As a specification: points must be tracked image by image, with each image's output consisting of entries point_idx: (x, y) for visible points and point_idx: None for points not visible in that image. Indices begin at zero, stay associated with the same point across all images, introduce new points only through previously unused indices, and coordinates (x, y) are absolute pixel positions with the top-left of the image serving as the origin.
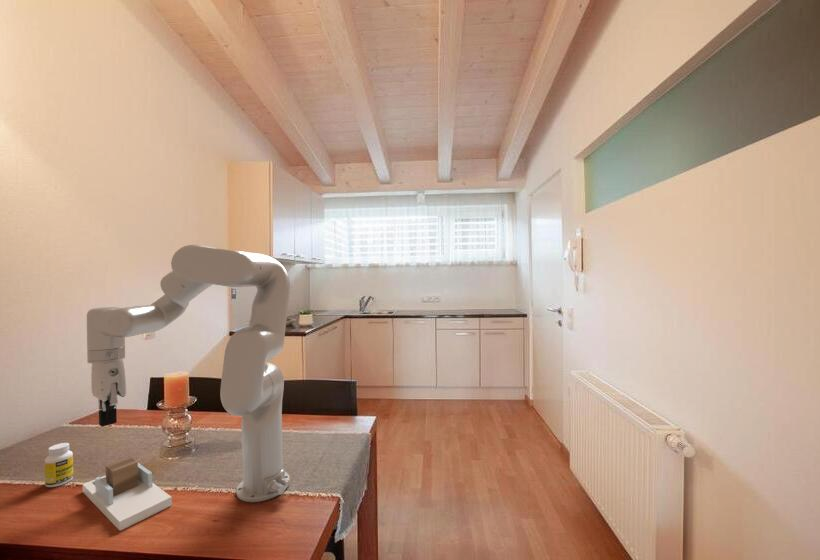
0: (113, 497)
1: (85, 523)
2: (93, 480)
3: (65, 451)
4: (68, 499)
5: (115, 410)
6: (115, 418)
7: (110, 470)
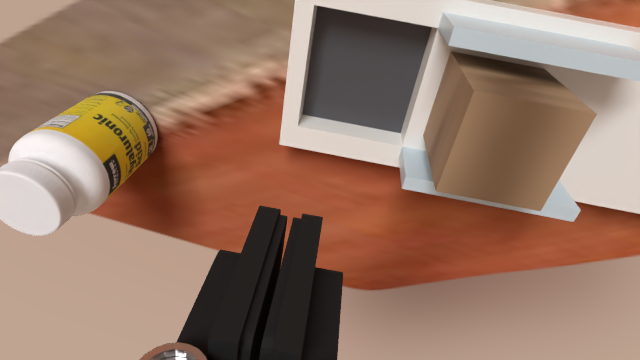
0: None
1: (503, 214)
2: (287, 115)
3: (64, 179)
4: (295, 169)
5: (303, 328)
6: (315, 249)
7: (508, 203)
